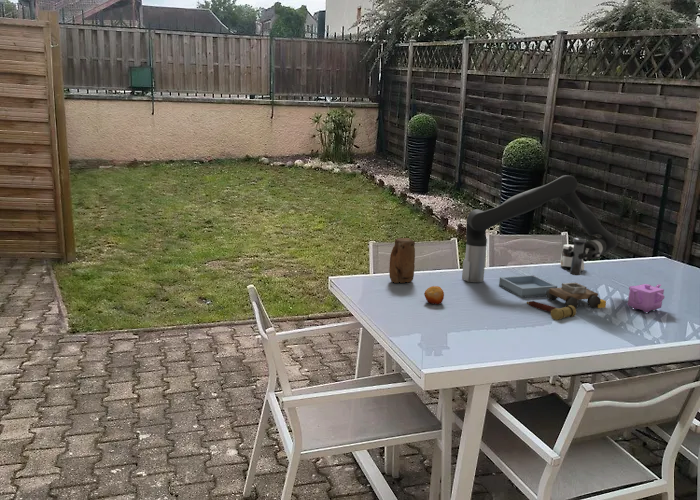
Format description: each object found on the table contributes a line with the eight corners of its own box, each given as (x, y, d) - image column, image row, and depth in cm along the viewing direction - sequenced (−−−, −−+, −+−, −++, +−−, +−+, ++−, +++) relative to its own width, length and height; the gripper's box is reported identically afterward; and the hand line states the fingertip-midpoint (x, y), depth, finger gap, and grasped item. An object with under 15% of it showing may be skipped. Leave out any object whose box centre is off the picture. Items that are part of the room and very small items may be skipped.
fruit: (447, 297, 265) (445, 284, 260) (442, 311, 260) (440, 298, 255) (429, 294, 269) (427, 281, 263) (423, 308, 264) (421, 295, 258)
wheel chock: (598, 308, 263) (599, 301, 262) (593, 305, 266) (594, 299, 265) (605, 307, 264) (606, 301, 263) (600, 305, 267) (601, 298, 266)
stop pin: (573, 276, 262) (578, 240, 258) (565, 272, 266) (570, 237, 263) (584, 275, 263) (589, 239, 260) (576, 272, 268) (580, 237, 264)
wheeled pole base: (567, 310, 258) (569, 291, 257) (545, 299, 272) (547, 281, 270) (599, 307, 264) (602, 289, 262) (576, 296, 277) (578, 279, 275)
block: (405, 278, 297) (407, 236, 292) (415, 282, 291) (417, 239, 286) (386, 281, 291) (388, 238, 287) (396, 285, 285) (398, 242, 280)
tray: (521, 297, 273) (522, 288, 272) (499, 285, 290) (499, 277, 289) (556, 294, 279) (557, 286, 278) (532, 283, 296) (533, 275, 295)
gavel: (518, 298, 262) (535, 295, 267) (518, 309, 263) (534, 305, 268) (560, 310, 245) (576, 306, 250) (559, 321, 246) (576, 317, 251)
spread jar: (558, 264, 332) (561, 243, 329) (581, 266, 330) (583, 244, 327) (562, 270, 320) (565, 248, 317) (586, 272, 319) (588, 249, 316)
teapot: (623, 302, 272) (627, 278, 269) (657, 305, 269) (661, 281, 266) (629, 313, 258) (633, 288, 255) (665, 317, 254) (669, 291, 252)
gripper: (575, 238, 277) (559, 243, 264) (608, 244, 268) (593, 250, 255) (573, 254, 279) (557, 261, 266) (606, 261, 270) (590, 268, 257)
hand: (575, 255), depth 261 cm, fingers closed on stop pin, 4 cm apart
